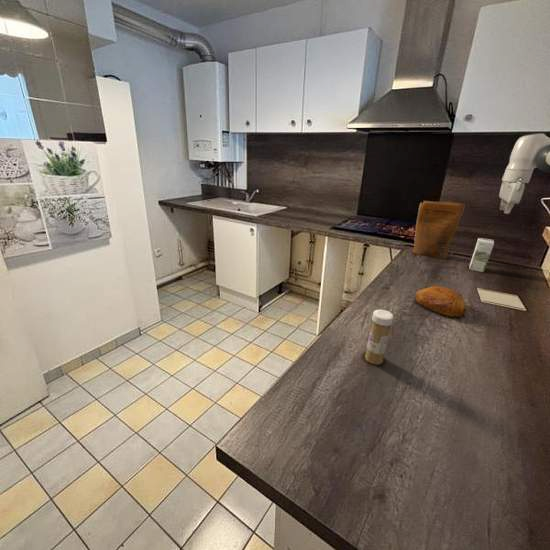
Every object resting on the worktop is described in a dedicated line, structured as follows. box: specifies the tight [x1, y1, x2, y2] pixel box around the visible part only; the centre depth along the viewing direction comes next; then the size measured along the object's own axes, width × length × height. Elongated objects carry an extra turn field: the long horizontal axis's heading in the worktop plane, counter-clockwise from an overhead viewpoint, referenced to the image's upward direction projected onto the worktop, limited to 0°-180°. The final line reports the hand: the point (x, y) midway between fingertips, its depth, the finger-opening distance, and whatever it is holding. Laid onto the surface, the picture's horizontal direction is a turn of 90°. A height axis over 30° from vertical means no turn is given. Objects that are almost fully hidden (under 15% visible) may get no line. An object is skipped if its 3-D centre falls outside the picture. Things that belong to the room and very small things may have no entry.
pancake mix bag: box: [411, 200, 466, 260], centre depth 145 cm, size 7×19×28 cm, turn 59°
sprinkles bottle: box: [364, 309, 394, 366], centre depth 71 cm, size 5×5×14 cm
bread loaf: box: [415, 285, 467, 318], centre depth 99 cm, size 14×16×8 cm
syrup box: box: [468, 237, 495, 273], centre depth 132 cm, size 6×6×14 cm
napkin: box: [476, 287, 527, 312], centre depth 107 cm, size 13×13×1 cm
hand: (504, 211), depth 124 cm, fingers open, 8 cm apart
